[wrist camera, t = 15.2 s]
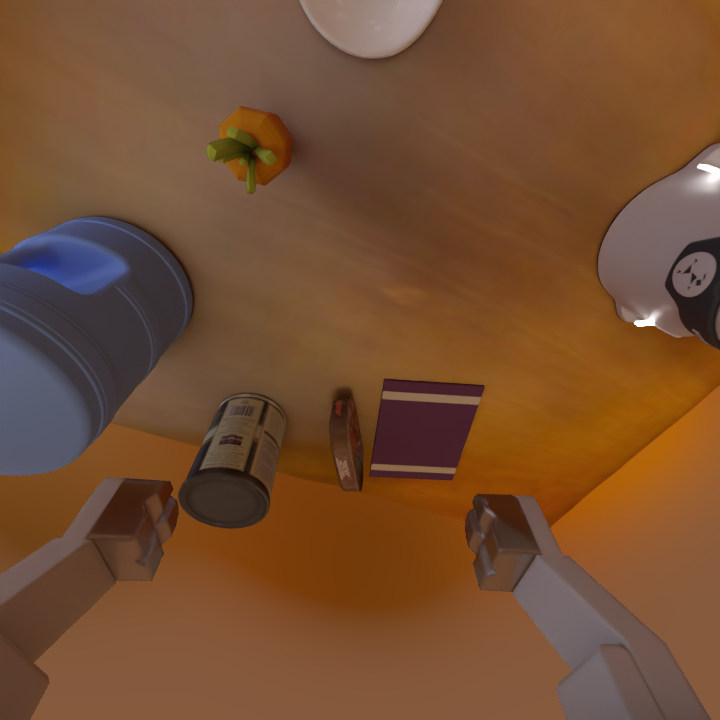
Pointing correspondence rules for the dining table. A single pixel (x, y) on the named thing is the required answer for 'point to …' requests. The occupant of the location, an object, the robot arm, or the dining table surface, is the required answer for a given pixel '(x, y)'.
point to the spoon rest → (371, 24)
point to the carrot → (252, 146)
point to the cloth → (422, 428)
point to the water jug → (80, 334)
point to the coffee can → (236, 463)
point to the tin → (346, 444)
